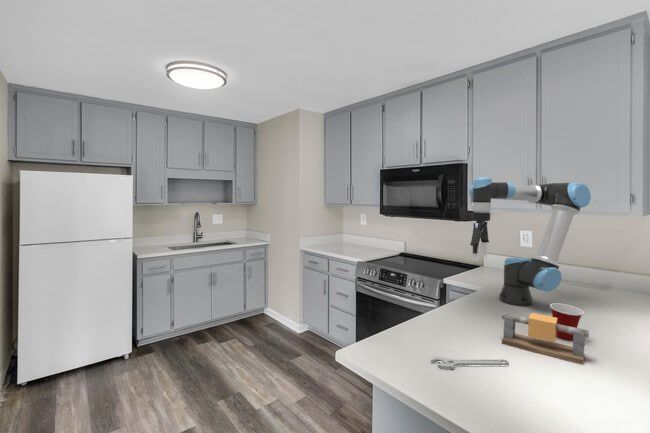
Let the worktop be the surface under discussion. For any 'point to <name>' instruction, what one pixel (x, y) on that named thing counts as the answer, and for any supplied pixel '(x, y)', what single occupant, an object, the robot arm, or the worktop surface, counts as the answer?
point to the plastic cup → (566, 318)
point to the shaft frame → (544, 346)
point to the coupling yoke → (542, 327)
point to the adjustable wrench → (465, 362)
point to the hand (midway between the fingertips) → (479, 258)
